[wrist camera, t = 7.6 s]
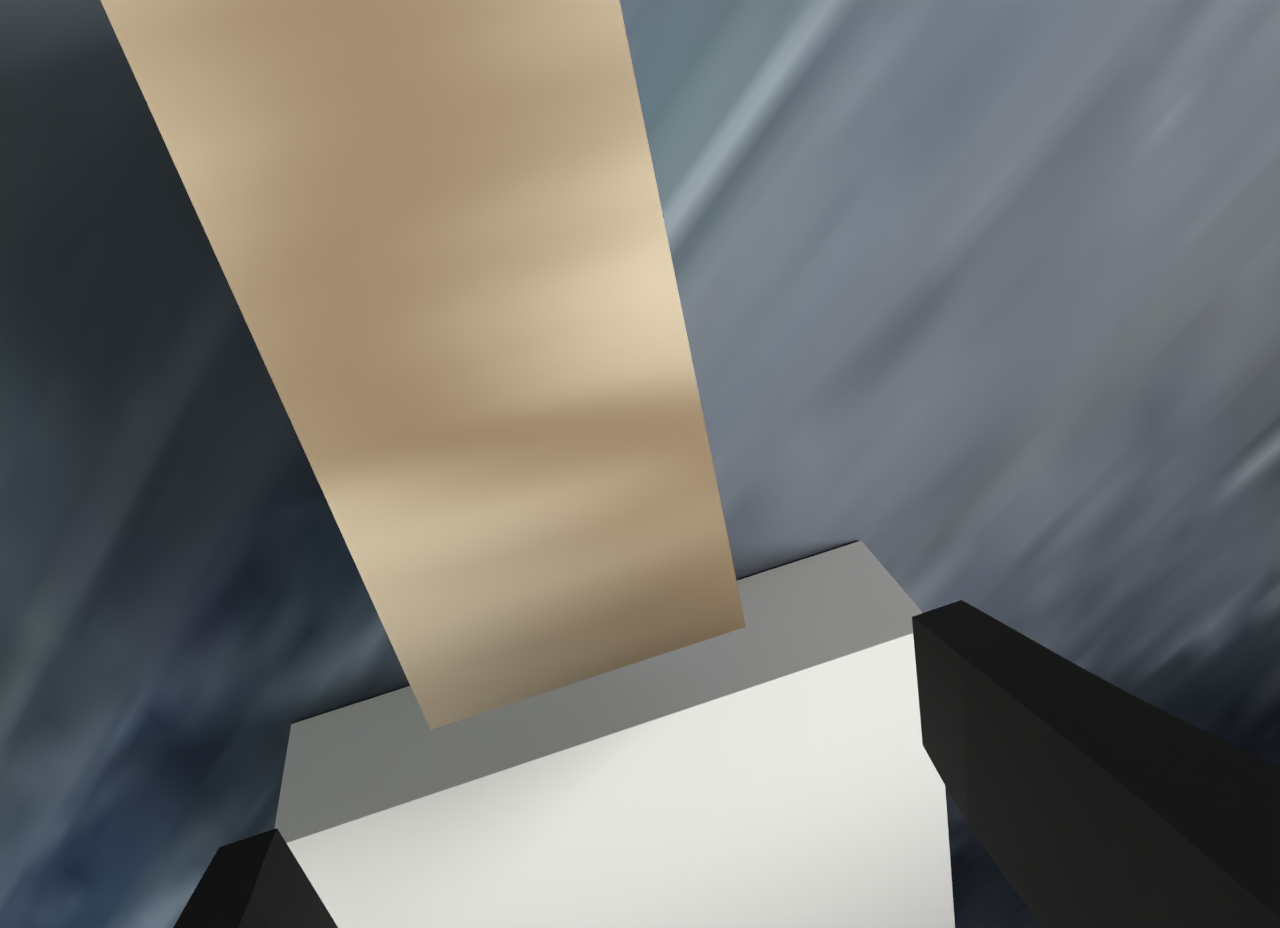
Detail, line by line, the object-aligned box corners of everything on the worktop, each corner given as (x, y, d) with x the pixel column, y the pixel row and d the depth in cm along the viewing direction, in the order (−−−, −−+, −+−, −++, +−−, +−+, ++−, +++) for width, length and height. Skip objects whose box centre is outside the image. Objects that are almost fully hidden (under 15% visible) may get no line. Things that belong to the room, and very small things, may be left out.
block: (628, 411, 14) (510, -65, 11) (746, 626, 9) (593, -127, 6) (423, 473, 13) (241, 0, 10) (430, 730, 9) (96, -9, 6)
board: (861, 540, 16) (934, 625, 14) (902, 908, 21) (961, 1013, 19) (291, 723, 15) (271, 847, 13) (479, 1063, 20) (489, 1194, 18)
